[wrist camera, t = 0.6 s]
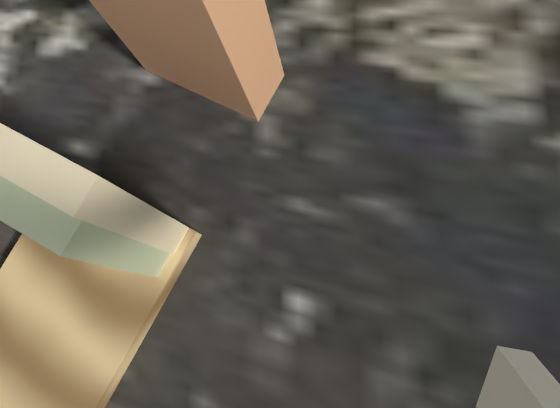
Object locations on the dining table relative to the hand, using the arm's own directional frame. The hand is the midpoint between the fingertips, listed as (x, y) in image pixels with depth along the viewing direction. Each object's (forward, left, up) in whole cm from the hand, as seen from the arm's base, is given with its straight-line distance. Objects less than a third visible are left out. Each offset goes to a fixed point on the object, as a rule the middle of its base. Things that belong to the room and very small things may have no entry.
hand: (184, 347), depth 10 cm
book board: (+10, -14, -21) cm, 27 cm away
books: (-1, -14, -20) cm, 24 cm away
